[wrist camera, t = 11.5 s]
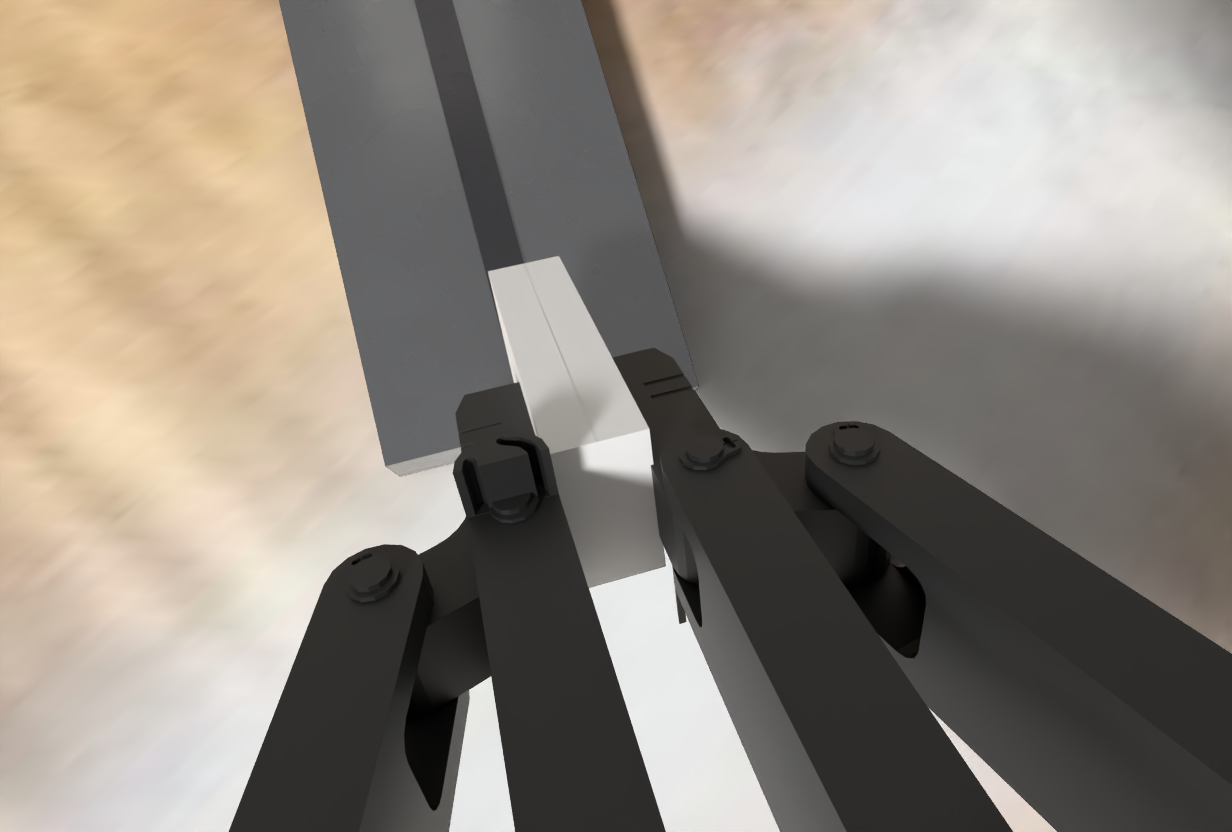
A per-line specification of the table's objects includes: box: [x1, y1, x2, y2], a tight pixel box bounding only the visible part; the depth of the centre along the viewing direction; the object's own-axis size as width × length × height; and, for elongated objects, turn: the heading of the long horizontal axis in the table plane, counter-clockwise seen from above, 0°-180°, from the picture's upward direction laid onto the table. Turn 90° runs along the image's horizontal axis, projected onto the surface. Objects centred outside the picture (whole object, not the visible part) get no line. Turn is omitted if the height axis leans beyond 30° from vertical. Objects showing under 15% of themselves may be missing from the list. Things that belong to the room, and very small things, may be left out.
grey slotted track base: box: [279, 0, 699, 477], centre depth 22 cm, size 22×8×2 cm, turn 16°
